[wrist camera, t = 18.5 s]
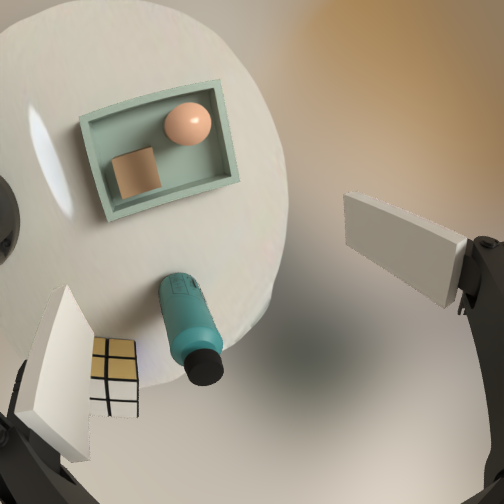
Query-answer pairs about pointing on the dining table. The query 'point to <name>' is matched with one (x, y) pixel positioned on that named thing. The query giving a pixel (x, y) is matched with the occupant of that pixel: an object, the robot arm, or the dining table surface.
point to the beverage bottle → (191, 329)
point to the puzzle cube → (114, 379)
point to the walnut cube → (136, 172)
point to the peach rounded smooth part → (187, 124)
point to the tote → (160, 147)
